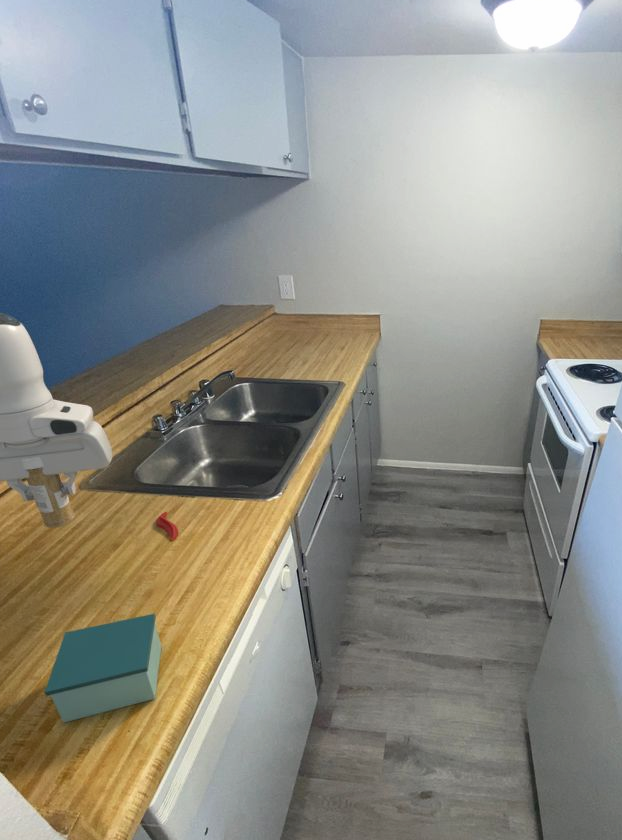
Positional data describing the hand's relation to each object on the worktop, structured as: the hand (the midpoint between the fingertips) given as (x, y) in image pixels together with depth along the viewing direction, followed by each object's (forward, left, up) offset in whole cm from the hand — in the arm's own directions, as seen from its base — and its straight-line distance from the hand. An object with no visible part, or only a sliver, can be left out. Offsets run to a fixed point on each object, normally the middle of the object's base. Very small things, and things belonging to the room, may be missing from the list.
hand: (51, 496), depth 78 cm
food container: (+8, -21, -23) cm, 32 cm away
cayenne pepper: (+12, +19, -23) cm, 33 cm away
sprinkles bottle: (0, 0, -5) cm, 5 cm away
